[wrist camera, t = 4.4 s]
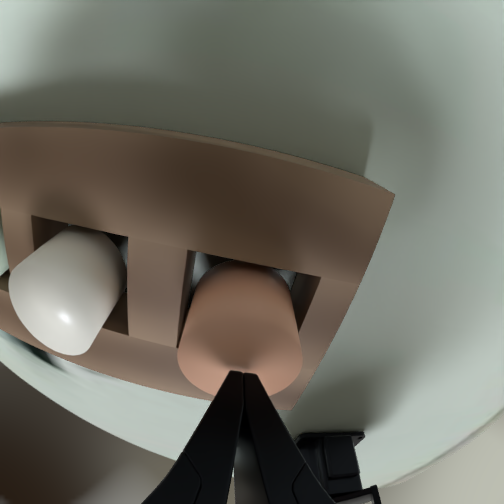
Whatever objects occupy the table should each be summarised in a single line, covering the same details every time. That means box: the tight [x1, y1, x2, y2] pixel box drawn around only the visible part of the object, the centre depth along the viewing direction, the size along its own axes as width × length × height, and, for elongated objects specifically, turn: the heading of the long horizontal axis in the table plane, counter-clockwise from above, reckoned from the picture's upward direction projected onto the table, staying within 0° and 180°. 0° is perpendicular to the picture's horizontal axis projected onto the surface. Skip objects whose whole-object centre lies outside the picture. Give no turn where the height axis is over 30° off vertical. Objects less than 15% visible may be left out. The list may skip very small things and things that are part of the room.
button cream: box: [9, 225, 127, 355], centre depth 9 cm, size 4×4×4 cm
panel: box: [0, 121, 395, 410], centre depth 11 cm, size 12×22×3 cm, turn 77°
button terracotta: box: [177, 260, 303, 396], centre depth 10 cm, size 4×4×4 cm
